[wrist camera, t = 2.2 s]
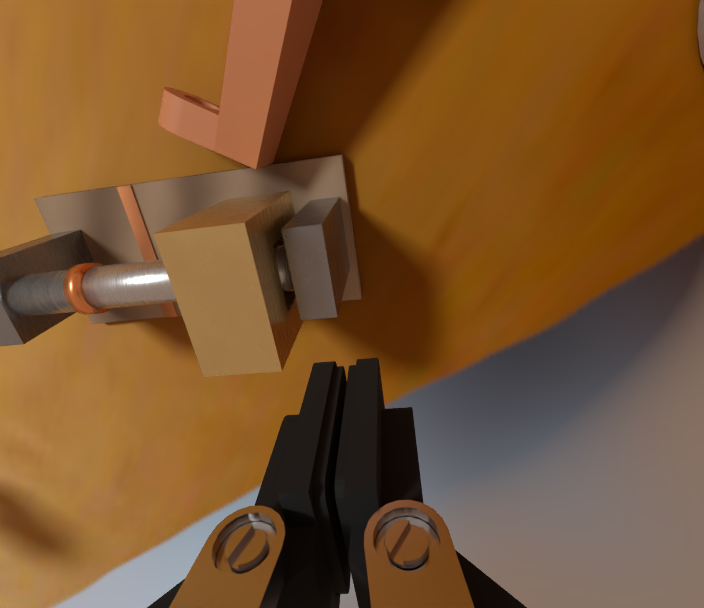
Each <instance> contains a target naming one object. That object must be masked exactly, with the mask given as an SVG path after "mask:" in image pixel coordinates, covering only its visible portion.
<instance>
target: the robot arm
mask: <svg viewBox="0 0 704 608" xmlns="http://www.w3.org/2000/svg"><path fill="white" fill-rule="evenodd" d="M697 34H698V41H699V49H700V56H701V59H702V62H703V64H704V0H700V5H699V15H698V32H697ZM350 573H351V574H352V579H353V583H354V587H355V592H356V597H357V601H358V606H359V608H527V607H525V606H524V605H523V604H521V603H520V602H519V601H518V600H517V599H515V598H514V597H513V596H512V595H510V594H509V593H508V592H507V591H505V590H504V589H503V588H502V587H500V586H499V585H498V584H497V583H496V582H494V581H493V580H492V579H491V578H489V577H488V576H487V575H485V574H484V573H483V572H482V571H481V570H479V569H478V568H477V567H476V566H474V565H473V564H472V563H471V562H469V561H468V560H467V559H466V558H464V557H463V556H462V555H461V554H460V553H458V552H457V551H456V550H455V548H454V545H453V542H452V539H451V537H450V533H449V530H448V528H447V526H446V524H445V522H444V521H443V518H442V517H440V515H439V514H438V513H437V512H436V511H435V510H434V509H432V508H431V507H429V506H427V505H425V504H424V503H423V497H422V488H421V479H420V471H419V462H418V453H417V445H416V436H415V427H414V419H413V410H412V407H408V408H393V409H385V406H384V399H383V391H382V383H381V375H380V367H379V360H378V358H370V359H357V363H356V365H352V366H349V371H348V379H347V381H346V375H345V369H344V367H343V366H340V367H337V365H336V362H335V361H333V362H320V363H314V364H313V367H312V371H311V374H310V378H309V381H308V385H307V389H306V392H305V396H304V399H303V403H302V406H301V410H300V414H299V415H287V416H285V417H284V419H283V422H282V424H281V427H280V430H279V433H278V436H277V440H276V443H275V446H274V449H273V452H272V455H271V458H270V461H269V464H268V467H267V470H266V473H265V476H264V479H263V482H262V485H261V488H260V491H259V494H258V497H257V500H256V503H255V506H249V507H246V508H243V509H240V510H237V511H236V512H234V513H232V514H230V515H229V516H227V517H226V518H225V519H224V520H223V521H222V522H220V523H219V524H218V525H217V526H216V528H215V529H214V530H213V532H212V533H211V535H210V536H209V537H208V539H207V541H206V543H205V544H204V546H203V548H202V550H201V552H200V553H199V555H198V557H197V559H196V560H195V562H194V564H193V566H192V568H191V569H190V571H189V573H188V575H187V577H186V578H185V579H184V580H183V581H181V582H180V583H179V584H177V585H176V586H175V587H173V588H172V589H171V590H170V591H168V592H167V593H166V594H164V595H163V596H162V597H161V598H159V599H158V600H157V601H155V602H154V603H153V604H151V605H150V606H149V607H147V608H339V603H340V594H348V593H349V588H350V575H351V574H350Z"/></svg>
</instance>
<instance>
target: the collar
mask: <svg viewBox="0 0 704 608" xmlns="http://www.w3.org/2000/svg"><path fill="white" fill-rule="evenodd" d="M294 216H295V211H294V206H293V201H292V196H291V191H283V192H276V193H268V194H260V195H253V196H245V197H238V198H230V199H226V200H223V201H221V202H219V203H217V204H215V205H213V206H211V207H209V208H207V209H205V210H202V211H200V212H198V213H196V214H194V215H192V216H190V217H188V218H186V219H183V220H181V221H179V222H177V223H175V224H173V225H171V226H169V227H167V228H164V229H162V230H160V231H158V232H156V233H154V234H153V235H154V238H155V241H156V243H157V246H158V249H159V252H160V255H161V258H162V260H163V263H164V266H165V269H166V272H167V275H168V277H169V280H170V283H171V286H172V289H173V291H174V294H175V297H176V300H177V303H178V306H179V308H180V311H181V314H182V317H183V320H184V323H185V325H186V328H187V331H188V334H189V337H190V339H191V342H192V345H193V348H194V351H195V354H196V356H197V359H198V362H199V365H200V368H201V370H202V373H203V376H204V377H207V376H221V375H236V374H250V373H265V372H279V371H282V370H283V368H284V365H285V363H286V361H287V358H288V356H289V354H290V351H291V349H292V347H293V344H294V342H295V339H296V337H297V335H298V332H299V330H300V328H301V325H302V323H303V321H304V320H301V319H300V314H299V309H298V305H297V300H296V296H295V291H284V292H283V288H282V284H281V279H280V275H279V271H278V266H277V262H276V257H275V253H274V249H273V247H274V246H283V245H285V244H284V240H283V235H282V230H281V229H282V228H283V227H284V226H285V225H286V224H287V223H288V222H289V221H290V220H291V219H292V218H293V217H294Z"/></svg>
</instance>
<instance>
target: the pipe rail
mask: <svg viewBox="0 0 704 608" xmlns="http://www.w3.org/2000/svg"><path fill="white" fill-rule="evenodd" d="M281 230H282V235H283V240H284V244H285V245H283V246H274V247H273V249H274V253H275V257H276V262H277V266H278V271H279V275H280V279H281V284H282V288H283V292H284V291H295V296H296V300H297V305H298V309H299V314H300V319H301V320H310V319H322V318H334V317H338V313H339V309H340V305H341V301H342V297H343V293H344V289H345V286H346V282H347V278H348V274H349V270H350V265H349V258H348V251H347V244H346V238H345V231H344V224H343V217H342V210H341V203H340V197H332V198H324V199H316V200H310V201H309V202H308V203H307V204H306V205H305V206H304V207H303V208H302V209H301V210H300V211H299V212H298V213H297V214H296V215H295V216H294V217H293V218H292V219H291V220H290V221H289V222H288V223H287V224H286V225H285V226H284V227H283V228H282V229H281ZM170 302H177V300H176V297H175V294H174V291H173V289H172V286H171V283H170V280H169V277H168V275H167V272H166V269H165V266H164V263H163V260H162V259H159V260H150V261H141V262H132V263H123V264H114V265H105V266H103V265H102V264H99V263H95V262H94V259H93V257H92V255H91V252H90V250H89V248H88V245H87V243H86V241H85V238H84V236H83V234H82V232H81V230H73V231H66V232H58V233H54V234H51V235H48V236H45V237H42V238H39V239H36V240H33V241H30V242H27V243H24V244H21V245H18V246H15V247H12V248H9V249H6V250H3V251H0V346H8V345H20V344H25V343H26V342H28V341H30V340H31V339H33V338H35V337H36V336H38V335H40V334H41V333H43V332H45V331H46V330H48V329H49V328H51V327H53V326H54V325H56V324H58V323H59V322H61V321H63V320H64V319H66V318H68V317H69V316H71V315H72V314H74V313H76V312H79V313H81V314H85V315H90V314H101V313H105V312H107V311H109V310H110V309H111V308H119V307H129V306H139V305H150V304H160V303H170Z"/></svg>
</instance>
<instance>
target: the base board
mask: <svg viewBox="0 0 704 608" xmlns="http://www.w3.org/2000/svg"><path fill="white" fill-rule="evenodd" d="M283 191H291V196H292V201H293V206H294V211H295V215H296V214H297V213H298V212H299V211H300V210H301V209H302V208H303V207H304V206H305V205H306V204H307V203H308V202H309V201H310V200H316V199H324V198H332V197H340V203H341V210H342V217H343V224H344V231H345V238H346V244H347V251H348V258H349V265H350V270H349V274H348V278H347V282H346V286H345V289H344V293H343V297H342V301H349V300H360V299H362V291H361V284H360V277H359V269H358V262H357V255H356V247H355V240H354V233H353V226H352V218H351V211H350V204H349V197H348V189H347V182H346V175H345V167H344V160H343V154H341V155H334V156H327V157H320V158H313V159H306V160H299V161H292V162H285V163H278V164H271V165H267V166H264V167H262V168H259V169H254V168H251V167H249V168H242V169H235V170H228V171H221V172H214V173H207V174H200V175H193V176H186V177H179V178H172V179H165V180H158V181H151V182H144V183H137V184H130V185H123V186H116V187H109V188H102V189H95V190H88V191H80V192H73V193H66V194H59V195H52V196H45V197H40V198H35V199H34V200H35V202H36V204H37V207H38V209H39V211H40V213H41V215H42V217H43V220H44V222H45V224H46V226H47V228H48V230H49V232H50V235H51V234H54V233H58V232H66V231H73V230H81V232H82V234H83V236H84V238H85V241H86V243H87V245H88V248H89V250H90V252H91V255H92V257H93V259H94V262H95V263H99V264H102V265H103V266H105V265H114V264H123V263H132V262H141V261H150V260H159V259H162V258H161V255H160V252H159V249H158V246H157V243H156V241H155V238H154V235H153V234H154V233H156V232H158V231H160V230H162V229H164V228H167V227H169V226H171V225H173V224H175V223H177V222H179V221H181V220H183V219H186V218H188V217H190V216H192V215H194V214H196V213H198V212H200V211H202V210H205V209H207V208H209V207H211V206H213V205H215V204H217V203H219V202H221V201H223V200H226V199H230V198H238V197H245V196H253V195H260V194H268V193H276V192H283ZM88 316H89V318H90V320H91V323H92V324H97V323H108V322H119V321H130V320H141V319H152V318H163V317H165V318H170V317H178V316H182V314H181V311H180V308H179V306H178V303H177V302H170V303H160V304H150V305H139V306H129V307H119V308H111V309H110V310H109V311H107V312H105V313H101V314H90V315H88Z"/></svg>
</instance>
